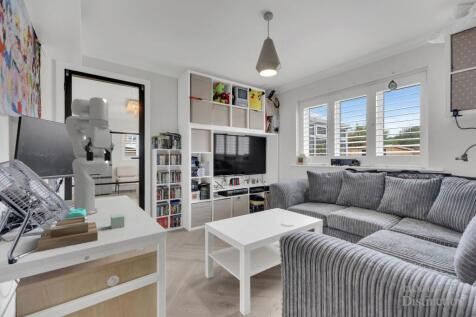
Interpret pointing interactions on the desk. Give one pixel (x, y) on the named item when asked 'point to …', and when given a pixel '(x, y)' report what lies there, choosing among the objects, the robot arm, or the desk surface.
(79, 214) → the decorative dice
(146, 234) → the desk surface
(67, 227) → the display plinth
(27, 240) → the desk surface
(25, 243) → the desk surface
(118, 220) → the sage block
